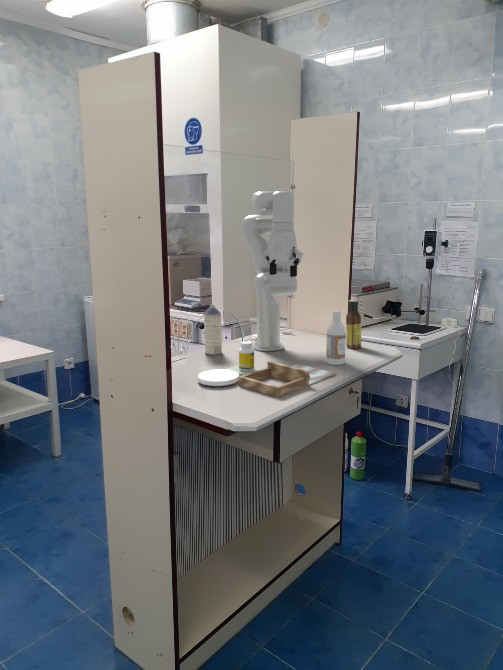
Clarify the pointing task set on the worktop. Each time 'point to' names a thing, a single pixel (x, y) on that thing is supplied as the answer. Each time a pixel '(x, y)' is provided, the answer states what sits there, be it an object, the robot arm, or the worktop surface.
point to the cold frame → (283, 378)
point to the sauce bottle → (353, 326)
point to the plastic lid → (218, 377)
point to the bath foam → (336, 341)
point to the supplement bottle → (246, 356)
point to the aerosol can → (213, 331)
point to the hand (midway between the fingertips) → (283, 275)
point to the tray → (236, 369)
